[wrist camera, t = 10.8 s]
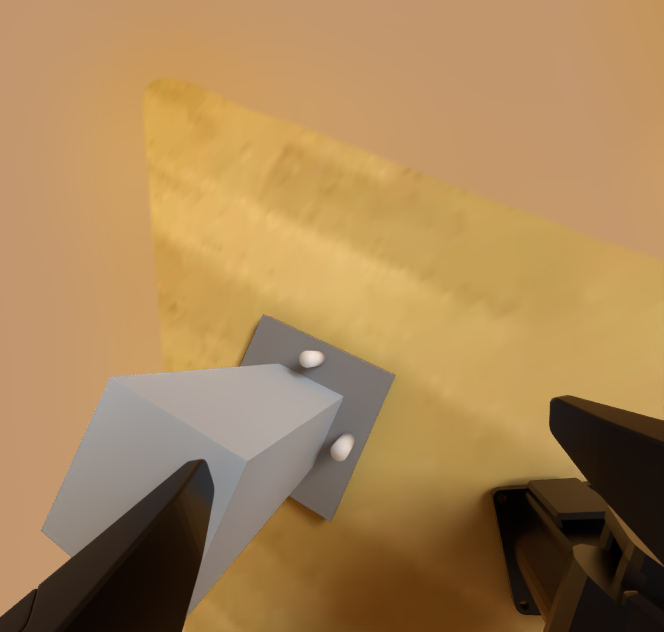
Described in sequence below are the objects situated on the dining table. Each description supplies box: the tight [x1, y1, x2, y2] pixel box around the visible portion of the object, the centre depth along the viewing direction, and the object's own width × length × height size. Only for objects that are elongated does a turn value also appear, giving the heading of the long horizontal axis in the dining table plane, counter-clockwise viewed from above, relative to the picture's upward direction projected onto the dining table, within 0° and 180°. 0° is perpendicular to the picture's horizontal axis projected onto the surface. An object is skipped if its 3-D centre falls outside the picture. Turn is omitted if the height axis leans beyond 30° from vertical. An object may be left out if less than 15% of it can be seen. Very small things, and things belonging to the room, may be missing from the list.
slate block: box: [41, 364, 344, 618], centre depth 15 cm, size 5×5×13 cm
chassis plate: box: [240, 315, 395, 522], centre depth 21 cm, size 10×10×4 cm
